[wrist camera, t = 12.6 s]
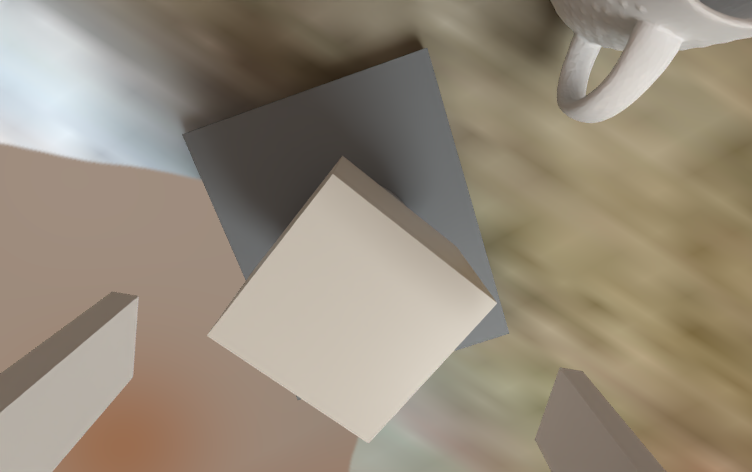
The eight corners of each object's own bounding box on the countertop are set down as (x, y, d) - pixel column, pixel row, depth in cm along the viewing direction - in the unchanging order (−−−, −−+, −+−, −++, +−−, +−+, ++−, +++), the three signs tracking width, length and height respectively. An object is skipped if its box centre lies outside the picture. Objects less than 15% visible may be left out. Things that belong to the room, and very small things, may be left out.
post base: (189, 133, 30) (99, 142, 20) (424, 50, 29) (457, 14, 19) (300, 390, 35) (274, 503, 25) (504, 326, 34) (564, 415, 24)
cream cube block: (366, 349, 28) (368, 443, 20) (254, 269, 27) (206, 335, 19) (456, 246, 27) (497, 303, 19) (342, 155, 25) (332, 173, 17)
